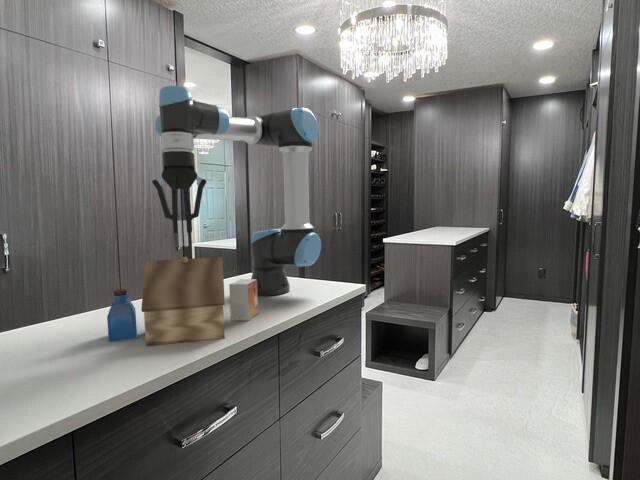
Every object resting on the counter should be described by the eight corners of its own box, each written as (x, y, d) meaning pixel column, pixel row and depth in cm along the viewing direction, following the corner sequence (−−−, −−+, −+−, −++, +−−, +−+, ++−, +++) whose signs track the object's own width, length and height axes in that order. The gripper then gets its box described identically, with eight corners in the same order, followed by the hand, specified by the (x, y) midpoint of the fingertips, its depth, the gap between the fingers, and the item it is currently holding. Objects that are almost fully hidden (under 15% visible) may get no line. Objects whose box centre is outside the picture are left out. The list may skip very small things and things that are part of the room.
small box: (249, 321, 116) (247, 284, 115) (230, 320, 117) (228, 284, 116) (259, 313, 123) (257, 278, 122) (241, 313, 125) (239, 278, 124)
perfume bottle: (110, 334, 107) (107, 289, 106) (136, 331, 109) (133, 286, 108) (108, 341, 101) (105, 293, 100) (136, 338, 103) (133, 290, 102)
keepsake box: (224, 322, 115) (222, 294, 114) (224, 338, 101) (223, 306, 101) (155, 329, 111) (153, 299, 110) (146, 346, 97) (143, 312, 96)
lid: (222, 259, 109) (222, 254, 108) (224, 305, 101) (224, 301, 99) (146, 263, 105) (145, 259, 104) (142, 311, 96) (140, 307, 95)
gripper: (146, 149, 98) (152, 249, 100) (206, 149, 101) (211, 246, 103) (151, 153, 105) (157, 246, 107) (207, 153, 108) (211, 243, 110)
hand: (183, 246), depth 105 cm, fingers closed
